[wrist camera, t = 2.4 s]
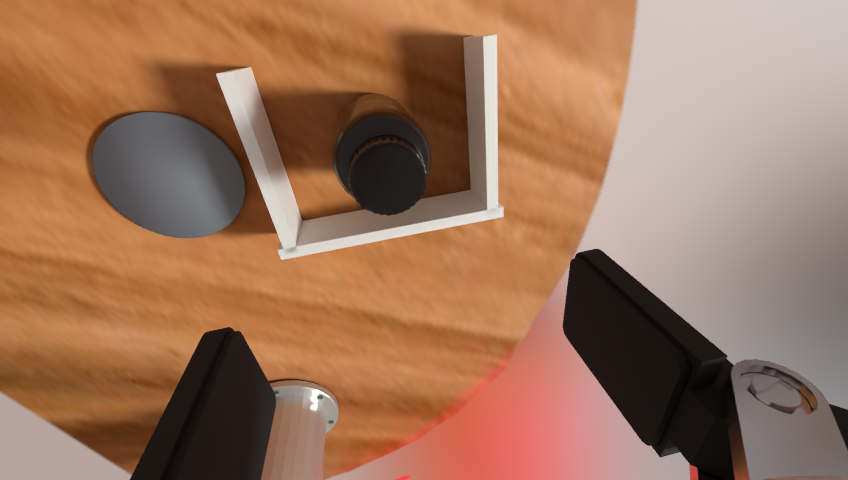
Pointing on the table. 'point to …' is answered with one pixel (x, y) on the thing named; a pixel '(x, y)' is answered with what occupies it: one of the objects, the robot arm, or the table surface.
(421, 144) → the supplement bottle
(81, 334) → the table surface
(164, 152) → the mat
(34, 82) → the table surface
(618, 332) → the robot arm
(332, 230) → the white u-shaped bracket
